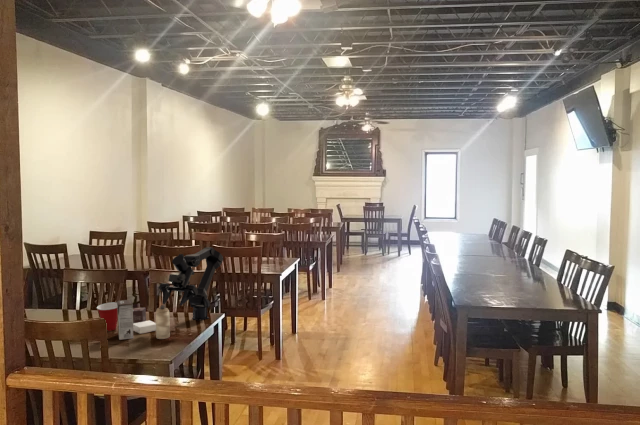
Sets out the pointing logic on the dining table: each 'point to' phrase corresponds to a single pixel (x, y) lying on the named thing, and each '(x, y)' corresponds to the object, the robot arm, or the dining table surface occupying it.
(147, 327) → the stand
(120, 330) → the coffee box
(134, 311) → the box
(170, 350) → the dining table surface
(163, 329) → the pepper mill
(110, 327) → the plastic cup
